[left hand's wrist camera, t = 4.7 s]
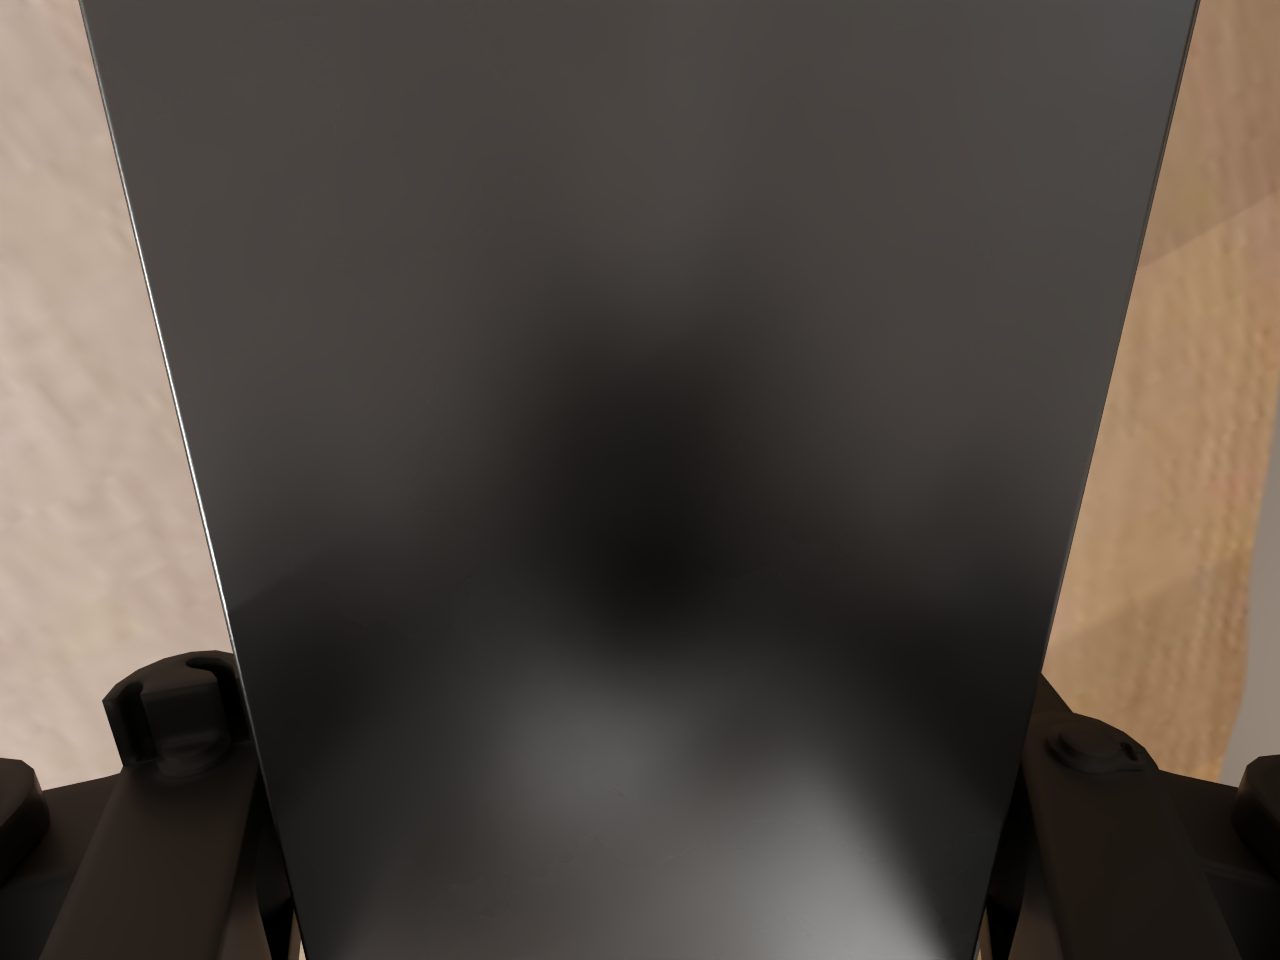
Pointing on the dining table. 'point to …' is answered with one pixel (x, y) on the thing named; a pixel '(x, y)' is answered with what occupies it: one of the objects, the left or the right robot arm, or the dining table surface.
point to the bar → (639, 439)
